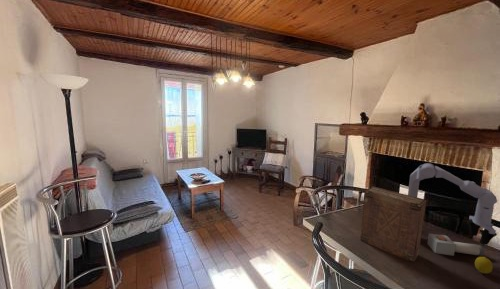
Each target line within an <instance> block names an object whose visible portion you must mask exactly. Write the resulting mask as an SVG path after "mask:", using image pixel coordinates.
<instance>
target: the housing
mask: <svg viewBox="0 0 500 289" xmlns="http://www.w3.org/2000/svg"><path fill="white" fill-rule="evenodd" d="M438 236H442V237H445V238H446V240H445V241H442V240H439V239H438ZM454 242H455V241H453V240H452V239H451V238H450V237H449V236H447V235H444V234H437V233H436V234H435V233H428V238H427V246H429V247H430V249H431V250H432V251H433V252H434V253H435V254H437V255H438V254H439V255H445V256H446V255H447V256H453V257H454V256H455V253H456V252H455V246H456V244H455V243H454Z"/></svg>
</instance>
